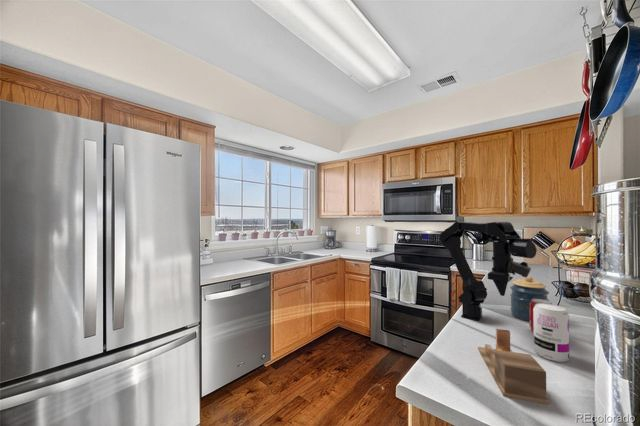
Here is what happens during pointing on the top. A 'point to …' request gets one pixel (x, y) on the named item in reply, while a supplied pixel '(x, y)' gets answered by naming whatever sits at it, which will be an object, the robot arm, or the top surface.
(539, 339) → the supplement can
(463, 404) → the top surface
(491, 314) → the top surface
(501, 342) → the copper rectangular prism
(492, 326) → the top surface
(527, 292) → the canister
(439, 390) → the top surface
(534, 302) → the soda can
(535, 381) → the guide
